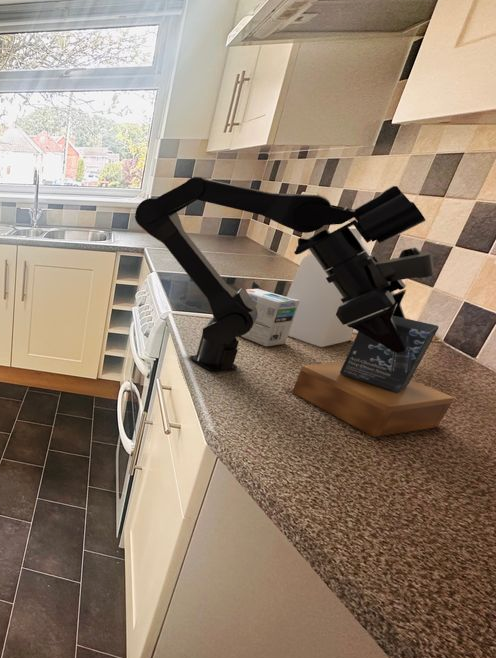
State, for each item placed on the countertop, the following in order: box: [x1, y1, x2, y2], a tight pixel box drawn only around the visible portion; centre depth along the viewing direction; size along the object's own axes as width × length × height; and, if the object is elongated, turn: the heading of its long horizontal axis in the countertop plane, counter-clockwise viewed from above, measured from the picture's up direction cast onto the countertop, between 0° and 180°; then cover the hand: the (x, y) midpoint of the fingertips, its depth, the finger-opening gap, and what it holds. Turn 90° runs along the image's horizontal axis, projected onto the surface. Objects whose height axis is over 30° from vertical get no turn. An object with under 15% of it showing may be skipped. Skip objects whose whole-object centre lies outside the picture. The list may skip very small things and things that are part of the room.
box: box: [340, 315, 439, 393], centre depth 67 cm, size 8×6×11 cm
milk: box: [285, 226, 373, 348], centre depth 99 cm, size 12×12×26 cm
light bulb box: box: [240, 288, 300, 347], centre depth 99 cm, size 11×7×11 cm, turn 22°
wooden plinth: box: [291, 360, 455, 438], centre depth 70 cm, size 14×14×6 cm
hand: (404, 344), depth 65 cm, fingers open, 9 cm apart
